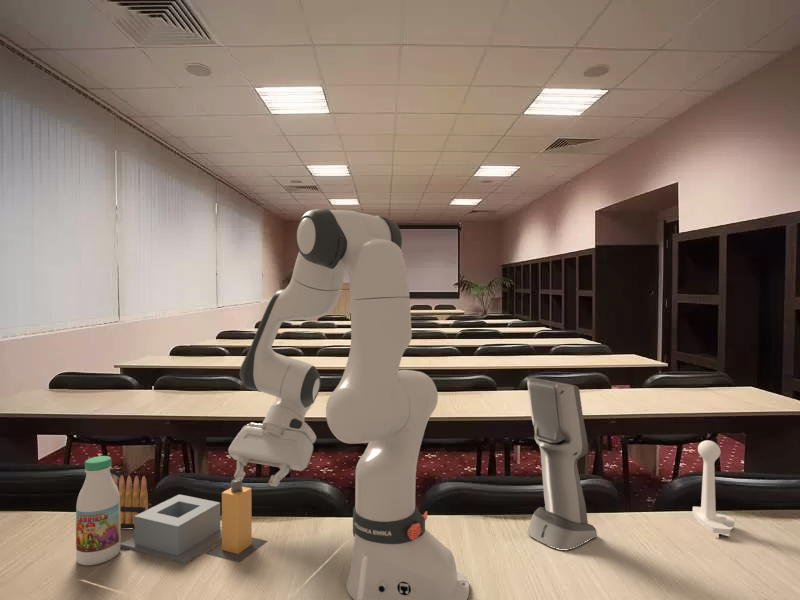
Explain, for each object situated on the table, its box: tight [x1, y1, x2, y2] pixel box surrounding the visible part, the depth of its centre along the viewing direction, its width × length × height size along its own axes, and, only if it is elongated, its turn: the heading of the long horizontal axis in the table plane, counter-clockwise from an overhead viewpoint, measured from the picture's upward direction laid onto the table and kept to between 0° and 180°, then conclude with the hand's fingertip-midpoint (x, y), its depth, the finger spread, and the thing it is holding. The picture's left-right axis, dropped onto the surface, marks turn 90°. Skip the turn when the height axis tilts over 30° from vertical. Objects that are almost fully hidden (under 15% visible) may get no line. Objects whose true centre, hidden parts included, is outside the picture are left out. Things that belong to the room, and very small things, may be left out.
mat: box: [203, 536, 269, 563], centre depth 103 cm, size 9×9×1 cm
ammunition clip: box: [112, 474, 150, 530], centre depth 113 cm, size 11×2×12 cm, turn 86°
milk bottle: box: [75, 455, 122, 566], centre depth 100 cm, size 8×8×20 cm
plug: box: [221, 478, 253, 554], centre depth 103 cm, size 4×4×14 cm
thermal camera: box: [527, 377, 598, 549], centre depth 109 cm, size 12×13×35 cm
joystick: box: [692, 439, 735, 535], centre depth 113 cm, size 11×8×20 cm
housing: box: [120, 494, 222, 565], centre depth 107 cm, size 18×14×7 cm
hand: (254, 481), depth 109 cm, fingers open, 8 cm apart
